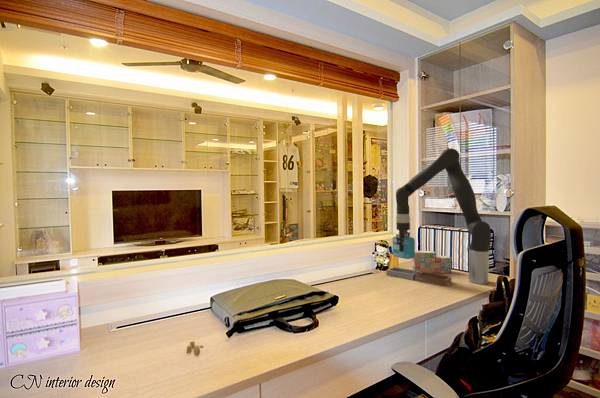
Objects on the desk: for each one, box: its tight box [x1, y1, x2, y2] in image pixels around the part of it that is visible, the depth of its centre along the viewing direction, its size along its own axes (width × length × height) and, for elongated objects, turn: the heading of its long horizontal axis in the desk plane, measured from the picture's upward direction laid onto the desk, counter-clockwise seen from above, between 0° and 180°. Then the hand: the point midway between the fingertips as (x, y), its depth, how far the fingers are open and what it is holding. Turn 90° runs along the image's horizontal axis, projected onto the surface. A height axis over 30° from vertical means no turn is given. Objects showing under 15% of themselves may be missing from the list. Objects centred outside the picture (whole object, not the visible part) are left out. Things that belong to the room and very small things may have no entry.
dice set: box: [186, 340, 204, 355], centre depth 100 cm, size 5×5×2 cm
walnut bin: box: [414, 272, 452, 287], centre depth 172 cm, size 10×16×3 cm, turn 48°
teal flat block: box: [392, 235, 416, 260], centre depth 183 cm, size 12×4×12 cm, turn 37°
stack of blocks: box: [411, 250, 453, 274], centre depth 193 cm, size 21×6×12 cm, turn 83°
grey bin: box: [385, 266, 420, 281], centre depth 183 cm, size 10×16×3 cm, turn 49°
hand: (403, 250), depth 183 cm, fingers closed on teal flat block, 5 cm apart
